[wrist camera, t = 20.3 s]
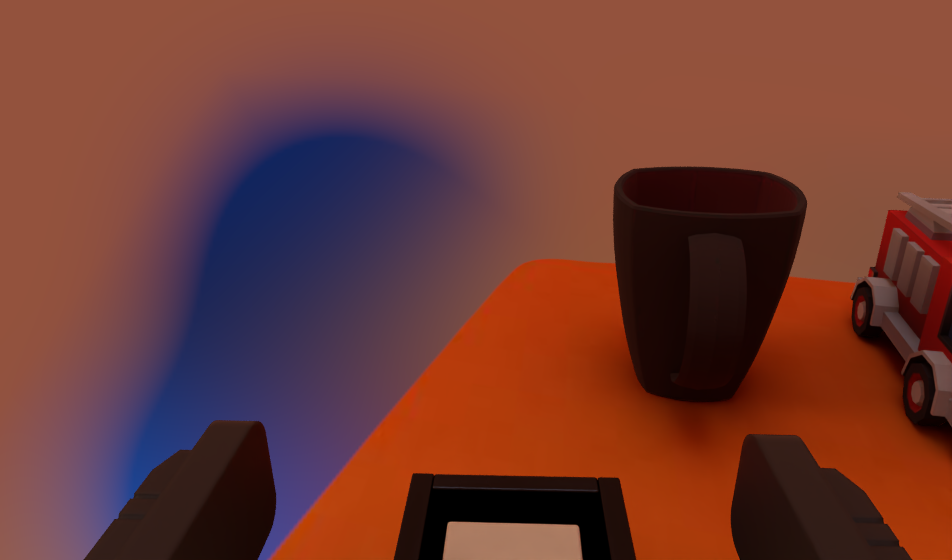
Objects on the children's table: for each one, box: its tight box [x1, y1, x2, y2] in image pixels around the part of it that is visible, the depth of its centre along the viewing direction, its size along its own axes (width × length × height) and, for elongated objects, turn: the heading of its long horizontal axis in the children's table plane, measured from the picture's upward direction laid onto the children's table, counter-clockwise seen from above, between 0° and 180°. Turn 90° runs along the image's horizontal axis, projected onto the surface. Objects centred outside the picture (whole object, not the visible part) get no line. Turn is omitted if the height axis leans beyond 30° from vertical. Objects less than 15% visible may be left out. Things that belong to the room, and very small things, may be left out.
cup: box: [613, 167, 807, 401], centre depth 37 cm, size 10×14×12 cm
